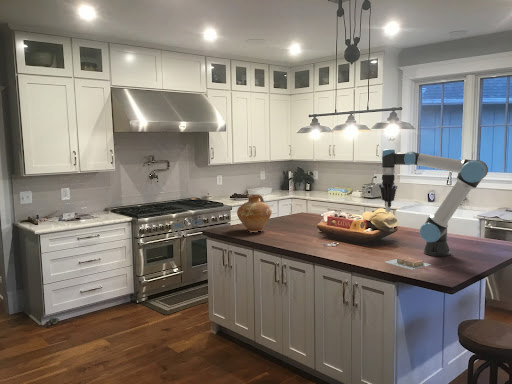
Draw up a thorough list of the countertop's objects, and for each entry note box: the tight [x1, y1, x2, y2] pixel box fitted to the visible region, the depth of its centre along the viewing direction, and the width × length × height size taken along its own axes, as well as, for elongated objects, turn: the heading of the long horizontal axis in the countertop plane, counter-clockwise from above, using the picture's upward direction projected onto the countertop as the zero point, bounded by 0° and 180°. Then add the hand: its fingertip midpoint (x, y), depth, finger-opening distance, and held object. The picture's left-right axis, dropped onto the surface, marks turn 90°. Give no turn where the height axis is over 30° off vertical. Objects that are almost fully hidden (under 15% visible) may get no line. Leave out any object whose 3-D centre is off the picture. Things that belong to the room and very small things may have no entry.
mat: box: [384, 258, 432, 271], centre depth 257 cm, size 20×17×1 cm
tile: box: [396, 256, 425, 267], centre depth 255 cm, size 2×8×12 cm
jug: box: [236, 193, 272, 232], centre depth 362 cm, size 28×28×30 cm
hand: (387, 211), depth 281 cm, fingers closed
